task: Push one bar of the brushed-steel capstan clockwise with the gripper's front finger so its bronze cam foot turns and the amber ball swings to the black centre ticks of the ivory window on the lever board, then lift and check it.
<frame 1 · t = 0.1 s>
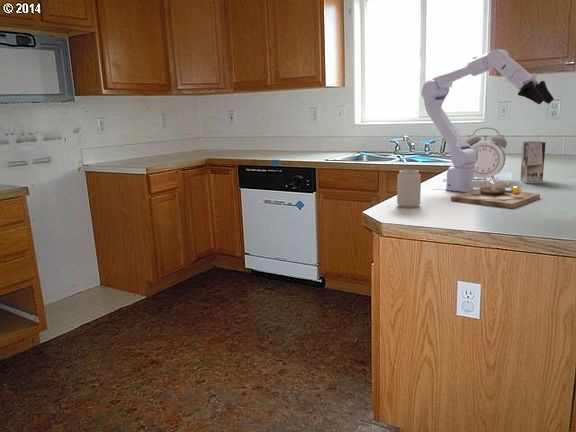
hand: (546, 101, 158), 32 cm above the countertop, tool tilted 50°, fingers open, 7 cm apart
capstan: (494, 187, 167), point 4 cm above the countertop, hinge at 35.0°
coffee box: (531, 182, 197), on the countertop
can: (408, 206, 162), on the countertop
alarm clock: (483, 180, 205), on the countertop
lever board: (495, 199, 166), on the countertop
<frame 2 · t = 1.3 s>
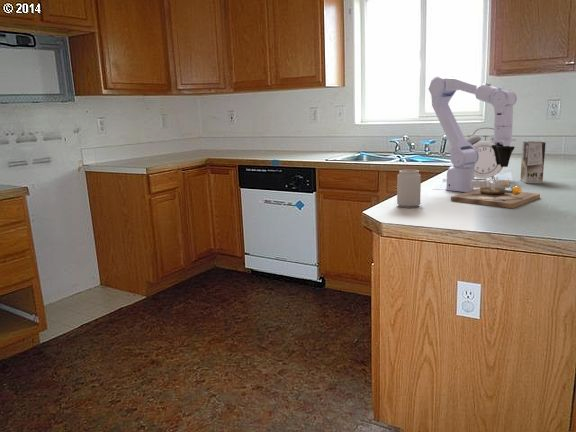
hand: (502, 165, 171), 11 cm above the countertop, tool pointing down, fingers open, 7 cm apart
nothing on the countertop moved.
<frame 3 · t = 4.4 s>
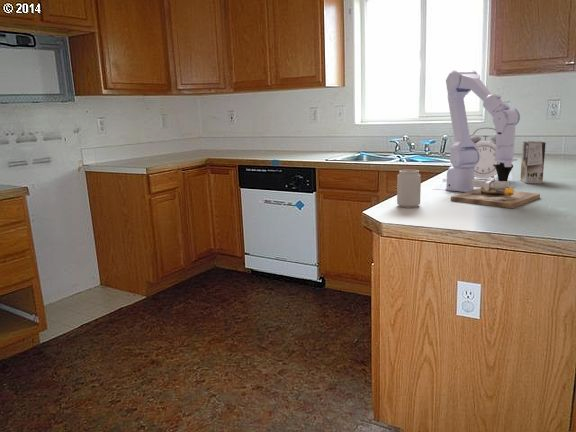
hand: (502, 185, 168), 4 cm above the countertop, tool pointing down, fingers closed, pressing on capstan
capstan: (493, 187, 167), point 4 cm above the countertop, hinge at 16.4°, touching gripper
everything else where it was.
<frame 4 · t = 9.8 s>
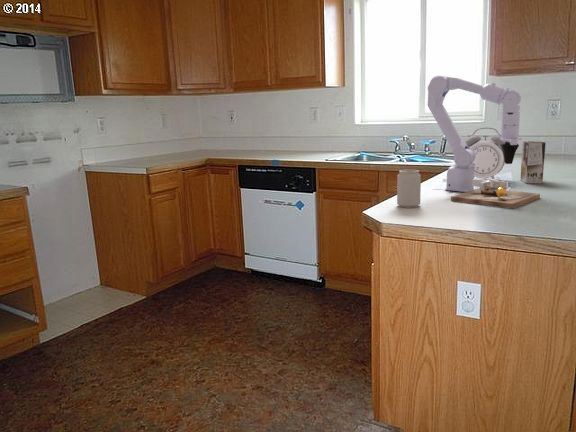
hand: (508, 163, 175), 10 cm above the countertop, tool pointing down, fingers closed
capstan: (491, 187, 167), point 4 cm above the countertop, hinge at 0.6°
everything else where it was.
at the end: capstan at +1° (first picture: +35°) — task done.
